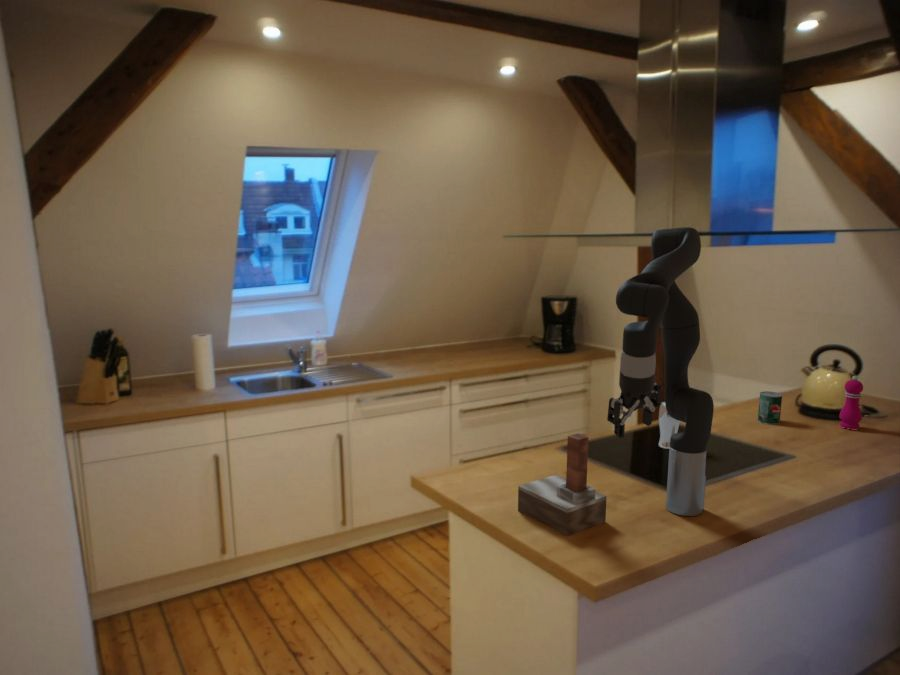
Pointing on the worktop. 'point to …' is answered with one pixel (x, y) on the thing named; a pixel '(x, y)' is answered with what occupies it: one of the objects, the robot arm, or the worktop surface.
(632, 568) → the worktop surface
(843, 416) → the pepper mill
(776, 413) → the canned tomato
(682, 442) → the robot arm
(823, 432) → the worktop surface
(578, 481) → the wooden key
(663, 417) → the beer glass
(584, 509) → the gray socket block
